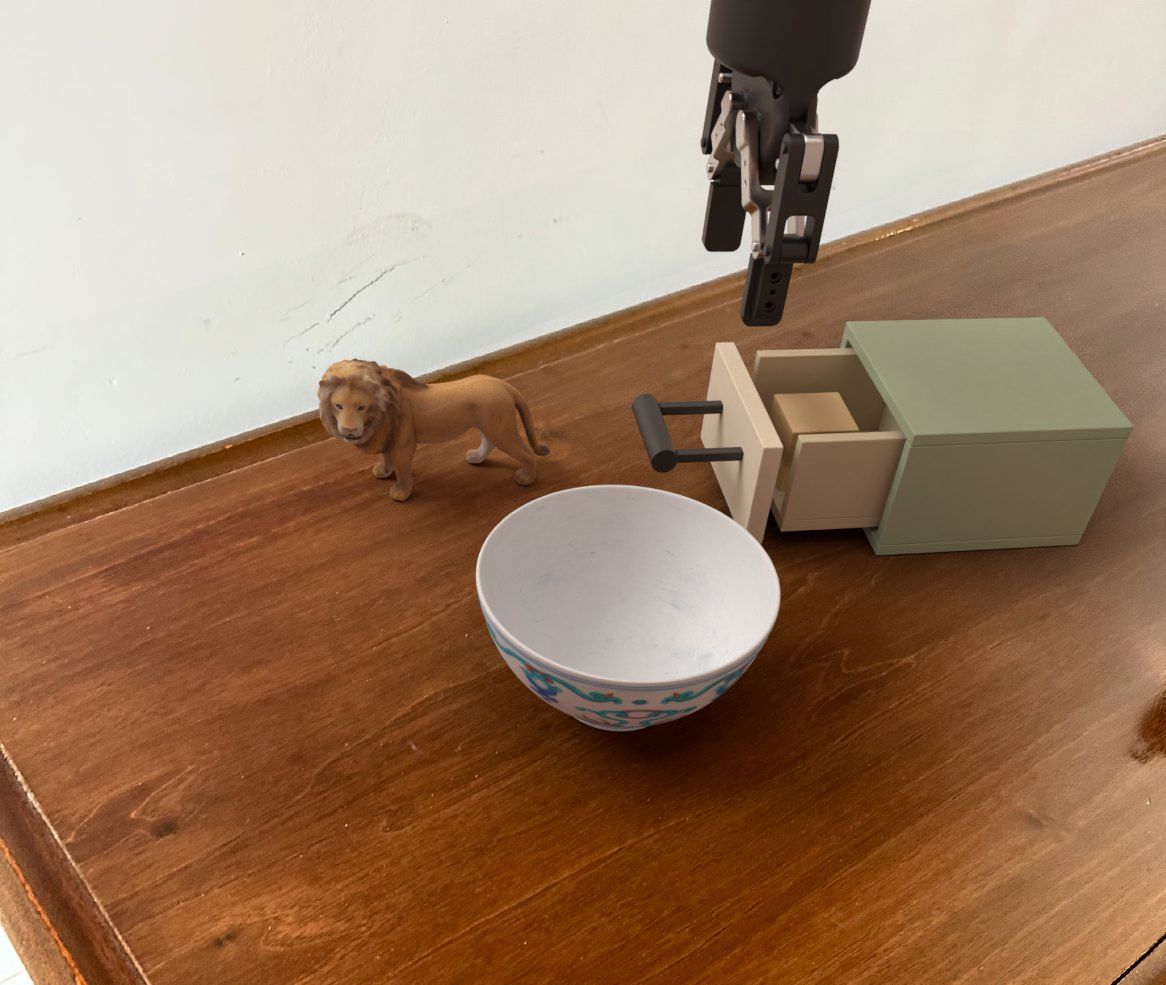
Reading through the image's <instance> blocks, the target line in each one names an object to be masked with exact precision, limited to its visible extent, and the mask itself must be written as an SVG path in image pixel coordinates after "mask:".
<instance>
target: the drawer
mask: <svg viewBox="0 0 1166 985" xmlns="http://www.w3.org/2000/svg"><path fill="white" fill-rule="evenodd" d="M710 371H711V372H710V377H709V383H708V389H707V394H706V395H707V396H706V400H691V401H689V400H686V401H659V402H658V400H657V398H656V397H655V396H654V395H653V394H651V393H642V394H639V395H638V396H636V397H635V398H634V400H633V401H632V404H631V411H632V413H633V416H634V420H635V422H636V425H637V428H638V431H639V434H640V436H641V440H642V443H643V445H644V448H645V452H646V454H647V457H648V460H649V462H650V465H651V468H652V469H653V471H655V472H656V473H659V474H665V473H669V472H671V471H672V470H674V469H675V468H676V466H677V465H678V464H687V463H688V464H689V463H690V464H693V463H710V464H711V467H712V469H713V472H714V475H715V477H716V479H717V482H718V485H719V487H720V489H721V493H722V494H723V497H724V500H725V502H726V504H727V508H728V509H729V512H730V514H731V517H732V520H734V521H735V522H737V523H738V524H739V525H741V526H742V527H743V528H744V529H746V530H747V531H748V532H749V533H750V534H751V535H752V536H753V537H754V538H755V539H756V540H757V541H758V542H759V543H760V545H762V544H763V540H764V536H765V533H766V532H765V531H766V527H767V522H768V518H769V513H770V510H771V512H772V515H773V517H774V519H775V521H776V524H777V526H778V528H779V531H780V532H798V531H818V530H821V531H822V530H837V529H838V530H839V529H840V530H841V529H859V528H862V527H879V525H880V522H881V518H882V515H883V512H884V509H885V506H886V502H887V499H888V496H889V493H890V490H891V487H892V483H893V480H894V477H895V474H896V471H897V467H898V464H899V461H900V458H901V455H902V452H903V448H904V445H905V442H906V440H907V439H906V437H905V435H904V433H903V432H902V430H901V428H900V427H899V425H898V423H897V422H896V420H895V418H894V417H893V415H892V413H891V411H890V410H889V408H888V406H887V405H886V403H885V401H884V400H883V398H882V396H881V395H880V393H879V391H878V389H877V388H876V386H875V384H874V383H873V381H872V379H871V378H870V376H869V374H868V373H867V371H866V369H865V367H864V366H863V364H862V362H861V361H860V359H859V357H858V356H857V354H856V352H855V351H854V349H853V348H840V347H839V348H838V347H837V348H810V349H809V348H801V349H797V348H796V349H762V350H761V349H759V350H756V354H755V358H754V363H753V370H752V374H751V375H750V373H749V371H748V368H747V367H746V364H745V363H744V360H743V358H742V356H741V354H740V352H739V350H738V347H737V346H736V344H735V342H734V341H729V342H728V341H726V342H725V341H723V342H716V343H715V345H714V352H713V359H712V365H711V370H710ZM829 392H839V394H840V396H841V398H842V399H843V401H844V403H845V405H846V407H847V408H848V410H849V412H850V414H851V416H852V417H853V419H854V421H855V423H856V425H857V426H858V428H859V433H835V434H808V435H799V436H798V439H797V444H796V448H795V452H794V457H793V461H792V465H791V469H790V474H789V478H788V482H787V486H786V491H780V490H779V488H778V486H777V484H776V479H777V474H778V470H779V465H780V461H781V456H782V452H783V445H782V443H781V441H780V439H779V436H778V434H777V432H776V430H775V428H774V426H773V424H772V422H771V420H770V413H771V408H772V403H773V399H774V395H775V394H798V393H829ZM689 415H691V416H692V415H693V416H695V415H703V419H702V426H701V432H700V439H701V442H702V444H703V447H699V448H697V447H696V448H677V449H676V448H675V446H674V442H673V440H672V437H671V434H670V432H669V429H668V427H667V424H666V421H665V418H664V416H689Z"/></svg>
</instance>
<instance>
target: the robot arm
mask: <svg viewBox="0 0 1166 985" xmlns="http://www.w3.org/2000/svg"><path fill="white" fill-rule="evenodd" d="M871 4H872V0H710V7H709V13H708V21H707V29H706V35H705V43H706V48H707V50H708V52H709V54H710V55H711V56H712V57H713V58H714V60H713V65H712V66H713V67H712V73H711V78H710V85H709V91H708V95H707V96H708V97H707V103H706V109H705V116H704V122H703V127H702V128H703V129H702V134H701V138H700V149H701V153H702V155H705V156H706V155H707V156H709V157H708V161H707V163H706V167H705V168H706V169H705V170H706V173H707V174H706V175H707V179H708V180H709V189H708V194H707V195H708V196H707V201H706V207H705V209H706V210H705V214H704V221H703V227H702V233H701V243H702V245H703V247H704V248H705V250H706V251H707V252H708V253H734V252H736V251H738V250H739V249H740V247H741V244H742V239H743V233H744V229H745V223H746V217H747V214H749V216H750V219H751V246H750V249H751V252H750V254H749V260H748V263H747V264H748V265H747V270H746V276H745V281H744V287H743V292H742V297H741V303H740V308H739V317H740V319H741V321H742V323H743V325H744V326H746V327H749V328H750V327H754V328H755V327H776V326H777V325H778V324H779V323H781V321H782V319H783V315H784V311H785V305H786V302H787V301H786V300H787V296H788V292H789V286H790V283H791V277H792V273H793V268H794V264H803V265H813V264H815V263H816V261H817V259H818V254H819V249H820V243H821V239H822V235H823V230H824V225H825V219H826V215H827V210H828V203H829V200H830V196H831V191H832V190H831V189H832V186H833V185H832V184H833V181H834V176H835V170H836V166H837V160H838V157H839V152H840V140H839V139H840V138H839V135H838V134H837V133H822V132H819V116H818V112H817V111H818V102H819V97H818V96H819V92H820V91H821V89H822V88H823V87H825V86H826V85H827V84H829V83H830V82H832V81H834V80H840V79H841V78H843V77H845V76H847V75H848V74H849V73H851V72H852V71H853V70H854V68H855V67H856V65H857V63H858V61H859V57H860V54H861V48H862V45H863V40H864V36H865V31H866V26H867V22H868V18H869V14H870V8H871ZM763 186H773V189H766V188H764V187H763ZM805 217H806V220H805ZM786 225H787V233H785V230H786Z"/></svg>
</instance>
